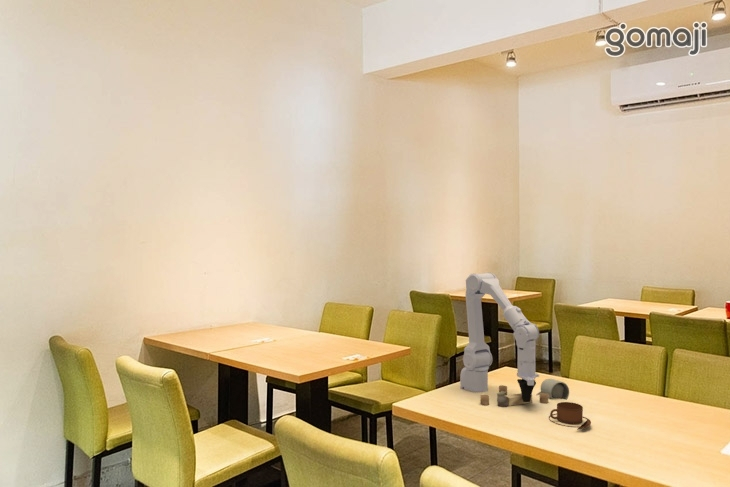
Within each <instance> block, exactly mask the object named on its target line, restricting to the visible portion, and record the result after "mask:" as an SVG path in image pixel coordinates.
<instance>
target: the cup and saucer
mask: <svg viewBox="0 0 730 487" xmlns="http://www.w3.org/2000/svg"><path fill="white" fill-rule="evenodd" d="M583 409H584V408H583V405H581V404H579V403H576V402H571V401H561V402H557V404H556V408H553V409H552V410H551V411H550V412H549V416H548V419H549V421H550V422H551V423H553V424H555V425H559V426H562V427H568V428H576V430H585V429H586V428H589V427H590V426H591V425H592V421H591V420H590V419H589V418H587V417H585V416H584V415H583V413H584V412H583ZM554 412H556V413H554ZM551 419H553V420H558V421H559V422H560V423H557V422H555V421H553V420H551ZM583 419H585V421H584V422H583ZM561 423H562V424H561ZM581 423H582V424H581ZM565 424H568V425H565ZM578 424H581V425H580V426H578ZM573 425H577V426H573Z"/></svg>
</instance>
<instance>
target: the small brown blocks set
mask: <svg viewBox="0 0 730 487" xmlns="http://www.w3.org/2000/svg"><path fill="white" fill-rule="evenodd" d="M505 395H508V386H507V385H502V384H501V385H498V393H497V394H496V397H497V398H496V402H498V396H505ZM479 399H480V400H479V401H480V402H479V403H480V405H481V406H485V407H486V406H489V405H490V396H489V395H487V394H480V397H479ZM539 403H540V404H549V399H548V394H547V393H540V395H539Z"/></svg>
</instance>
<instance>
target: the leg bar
mask: <svg viewBox="0 0 730 487" xmlns="http://www.w3.org/2000/svg"><path fill="white" fill-rule="evenodd" d="M532 403H533V394H532V395H531V400H530V402H523V399H522V393H513V394H507V395H505V396H498V401H497V406H498V407H501V408H507V407H510V406H512V407H513V406H519V405H524V404H532Z"/></svg>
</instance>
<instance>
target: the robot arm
mask: <svg viewBox="0 0 730 487" xmlns="http://www.w3.org/2000/svg"><path fill="white" fill-rule="evenodd" d="M465 288H466V290H465V305H466V306H465V307H466V308H465V309H466V318H467V333H468V343H467V345H465V347H464V348H463V352H464V353H463V357H462V361H463V362H462V363H463V365H464V367H463V368H462V369H461V371H460V376H459V377H460V379H459V380H460V382H459V389H460V390H465V391H468V392H473V393H486V392H488V382H489V381H488V380H489V378H488V377H489V374H488V373H489V372H488V371H489V369H490V366H491V365H492V363H493V355H492V353H491V350H490V346H489V345H488V344H487V343H486V341H485V334H484V331H485V330H484V321H483V320H484V319H483V309H482V308H483V307H482V299H483V297H485V295H489V296H491V298H492V299H493V300H494V302H496V303H497V305H498V306H499V307H500V308H501V309H502V311H503V315H502V316H503V318H504V319H505V320H506V322H507V323H508V324H509V327H511V329H512V330H513V338H514V339H515V342H516V343H515V344H516V347H517V372H516V376H517V378H518V379H517V380H516V381H517V383H518V385H519V388H520V392H521V393H522V399H523V402H530V400H531V395H532V396H533V390H534V388H535V386H536V384H537V381H536V378H539V377H540V374H539V373H536V343H537V342H536V341H537V340H538V339H539V337H540V330H539V328H538V326H537V324H536V323H532V322H530V321H529V320H528V319H527V317H526V316H525V315H524V313H523V312H522V309H521V308H520V307H518V306H517V305H512V303H511V301H510V300H509V298H508V296H507V295H506V293H505V292H504V290H503V289H502V287H501V286H500V279H498V277H497V276H496V274H494V273H493V272H487V273H485V272H484V273H476V272H475V273H470V274H469V276H468V277H466V279H465Z"/></svg>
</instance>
